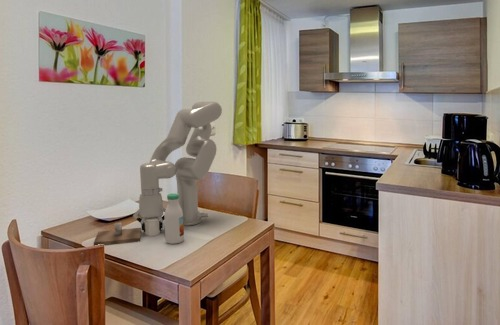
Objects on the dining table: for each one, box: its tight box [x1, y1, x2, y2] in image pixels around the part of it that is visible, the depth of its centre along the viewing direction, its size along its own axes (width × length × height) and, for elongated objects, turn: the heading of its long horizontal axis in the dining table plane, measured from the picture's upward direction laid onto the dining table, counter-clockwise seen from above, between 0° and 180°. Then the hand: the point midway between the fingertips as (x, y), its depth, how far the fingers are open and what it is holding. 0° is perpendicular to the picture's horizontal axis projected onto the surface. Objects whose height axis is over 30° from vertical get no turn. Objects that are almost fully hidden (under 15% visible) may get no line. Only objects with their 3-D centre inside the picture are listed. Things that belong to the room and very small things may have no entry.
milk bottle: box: [163, 193, 185, 245], centre depth 146 cm, size 8×8×20 cm
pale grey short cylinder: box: [144, 217, 161, 237], centre depth 156 cm, size 6×6×7 cm
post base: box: [93, 221, 142, 246], centre depth 150 cm, size 18×13×6 cm
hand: (152, 230), depth 156 cm, fingers closed on pale grey short cylinder, 6 cm apart
